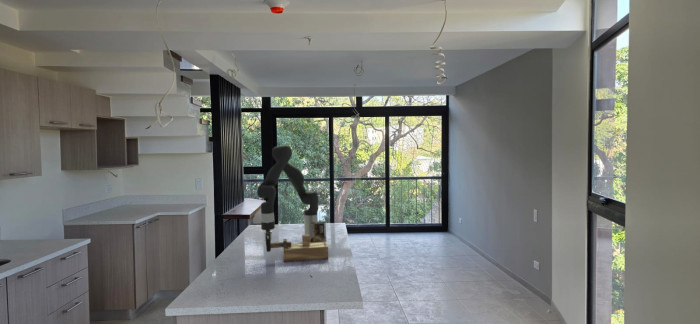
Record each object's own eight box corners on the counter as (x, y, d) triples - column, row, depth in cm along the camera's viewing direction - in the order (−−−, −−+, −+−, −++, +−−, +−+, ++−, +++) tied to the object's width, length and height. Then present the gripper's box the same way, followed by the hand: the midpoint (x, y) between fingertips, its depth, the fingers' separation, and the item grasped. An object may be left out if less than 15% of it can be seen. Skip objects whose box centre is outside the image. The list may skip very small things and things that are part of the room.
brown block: (266, 247, 223) (266, 242, 222) (291, 246, 225) (291, 240, 225) (266, 249, 219) (266, 243, 219) (291, 247, 222) (291, 242, 222)
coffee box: (326, 246, 248) (326, 221, 247) (325, 249, 242) (324, 223, 241) (312, 246, 249) (312, 221, 248) (310, 249, 243) (310, 223, 242)
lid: (287, 246, 228) (287, 234, 227) (323, 244, 231) (323, 232, 231) (288, 250, 219) (287, 238, 218) (325, 248, 222) (324, 236, 222)
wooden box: (283, 256, 229) (283, 237, 228) (325, 253, 233) (325, 235, 233) (283, 262, 217) (283, 243, 217) (328, 258, 221) (327, 239, 221)
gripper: (261, 218, 227) (262, 247, 228) (260, 223, 213) (261, 254, 214) (274, 217, 228) (275, 246, 229) (274, 222, 214) (275, 253, 215)
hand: (268, 250), depth 221 cm, fingers closed on brown block, 3 cm apart
